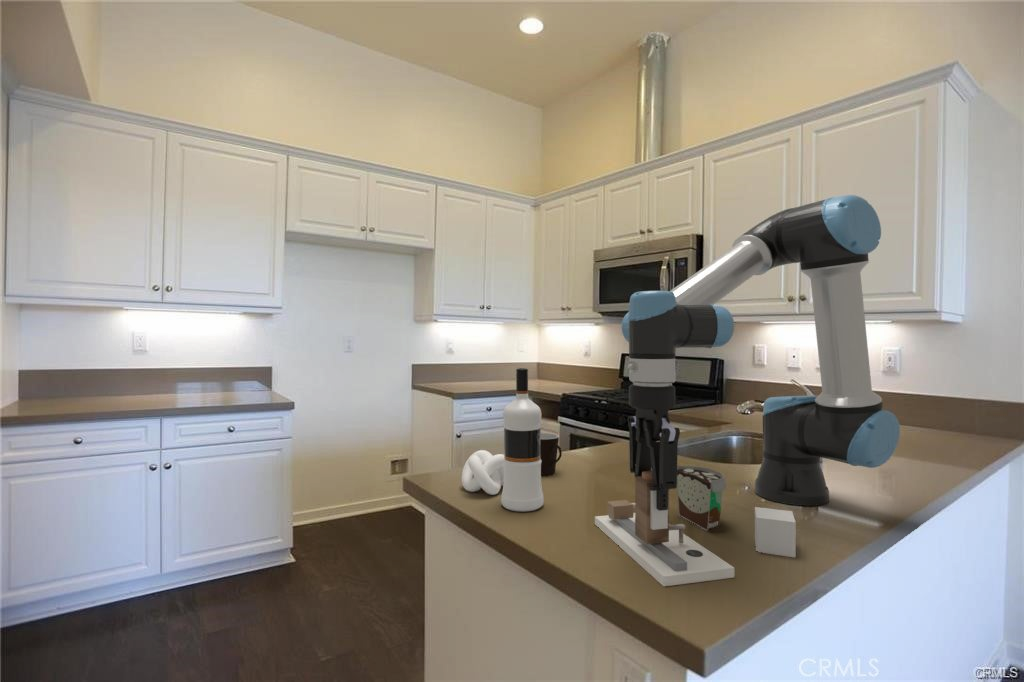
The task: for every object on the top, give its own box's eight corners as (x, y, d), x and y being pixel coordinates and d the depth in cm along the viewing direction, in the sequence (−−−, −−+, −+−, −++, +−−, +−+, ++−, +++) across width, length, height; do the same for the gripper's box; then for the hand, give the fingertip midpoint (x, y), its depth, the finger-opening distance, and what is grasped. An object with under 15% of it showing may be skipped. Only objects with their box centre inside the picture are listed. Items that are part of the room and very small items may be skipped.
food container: (740, 531, 98) (740, 478, 98) (713, 534, 96) (713, 481, 96) (699, 510, 110) (699, 463, 110) (674, 513, 108) (674, 465, 108)
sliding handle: (677, 537, 90) (677, 467, 90) (690, 546, 86) (690, 473, 86) (635, 542, 88) (635, 470, 88) (646, 551, 84) (646, 477, 84)
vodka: (495, 501, 115) (495, 367, 115) (533, 497, 119) (533, 366, 118) (510, 515, 107) (509, 370, 106) (550, 509, 110) (550, 368, 110)
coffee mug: (524, 469, 143) (524, 433, 143) (555, 468, 144) (555, 432, 144) (531, 481, 132) (531, 442, 131) (564, 480, 133) (564, 441, 132)
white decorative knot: (499, 481, 132) (499, 446, 132) (520, 494, 121) (520, 455, 121) (457, 486, 127) (457, 450, 127) (475, 500, 116) (475, 461, 116)
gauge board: (650, 518, 104) (650, 493, 104) (734, 577, 79) (734, 544, 79) (594, 524, 102) (594, 498, 102) (663, 586, 76) (663, 552, 76)
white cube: (791, 544, 92) (792, 511, 92) (795, 558, 86) (796, 522, 86) (754, 539, 94) (754, 506, 94) (755, 552, 89) (756, 517, 89)
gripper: (609, 380, 94) (609, 508, 94) (657, 389, 77) (657, 545, 78) (647, 379, 96) (647, 505, 96) (701, 388, 79) (701, 540, 79)
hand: (651, 522), depth 87 cm, fingers closed on sliding handle, 4 cm apart
